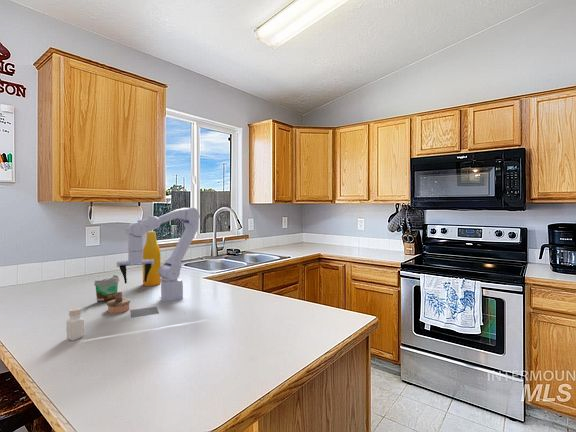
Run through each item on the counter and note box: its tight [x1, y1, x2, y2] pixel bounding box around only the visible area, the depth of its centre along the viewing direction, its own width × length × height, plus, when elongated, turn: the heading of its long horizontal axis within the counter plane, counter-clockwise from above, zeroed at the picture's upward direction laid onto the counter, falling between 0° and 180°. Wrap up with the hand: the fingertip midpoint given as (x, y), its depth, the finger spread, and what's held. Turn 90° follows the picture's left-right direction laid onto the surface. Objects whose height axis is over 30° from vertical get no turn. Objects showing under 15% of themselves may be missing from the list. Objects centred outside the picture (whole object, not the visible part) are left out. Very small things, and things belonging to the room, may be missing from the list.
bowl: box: [107, 303, 130, 314], centre depth 134 cm, size 8×8×3 cm
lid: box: [106, 291, 131, 307], centre depth 133 cm, size 9×9×4 cm
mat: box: [129, 306, 160, 318], centre depth 131 cm, size 10×10×1 cm
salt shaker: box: [66, 307, 85, 341], centre depth 106 cm, size 4×4×10 cm
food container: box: [93, 275, 120, 303], centre depth 150 cm, size 12×6×10 cm, turn 168°
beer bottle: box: [142, 230, 162, 287], centre depth 179 cm, size 9×9×29 cm
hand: (135, 282), depth 140 cm, fingers open, 7 cm apart
